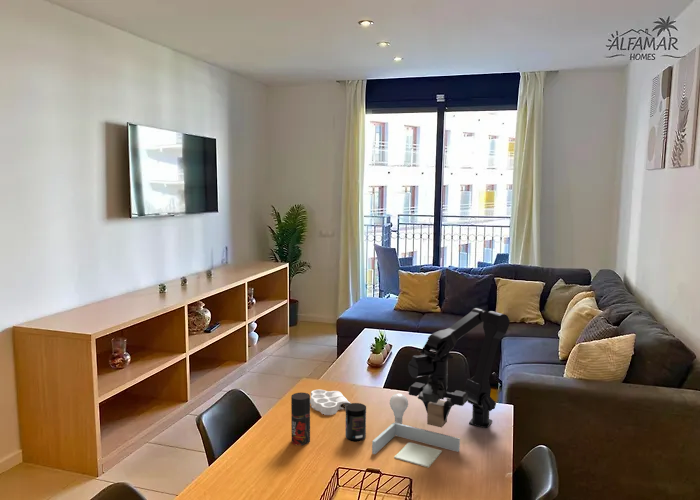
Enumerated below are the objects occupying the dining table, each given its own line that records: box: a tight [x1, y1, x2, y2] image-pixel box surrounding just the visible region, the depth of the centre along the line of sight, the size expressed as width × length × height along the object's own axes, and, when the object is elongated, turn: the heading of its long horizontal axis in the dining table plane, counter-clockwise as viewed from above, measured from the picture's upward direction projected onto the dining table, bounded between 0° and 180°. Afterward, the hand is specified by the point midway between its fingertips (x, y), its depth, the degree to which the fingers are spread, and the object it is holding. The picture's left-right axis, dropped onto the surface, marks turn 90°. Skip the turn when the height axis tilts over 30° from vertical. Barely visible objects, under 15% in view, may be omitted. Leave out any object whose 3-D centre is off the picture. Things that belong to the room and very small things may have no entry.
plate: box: [394, 441, 443, 469], centre depth 158 cm, size 11×11×1 cm
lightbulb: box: [389, 392, 409, 424], centre depth 179 cm, size 6×6×11 cm
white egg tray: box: [310, 389, 351, 416], centre depth 196 cm, size 3×18×15 cm
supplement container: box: [344, 402, 367, 443], centre depth 169 cm, size 7×7×10 cm
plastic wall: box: [371, 422, 461, 455], centre depth 160 cm, size 16×22×4 cm
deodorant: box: [290, 392, 311, 446], centre depth 166 cm, size 6×6×15 cm
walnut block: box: [426, 399, 448, 428], centre depth 171 cm, size 5×5×7 cm
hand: (437, 418), depth 172 cm, fingers closed on walnut block, 5 cm apart
